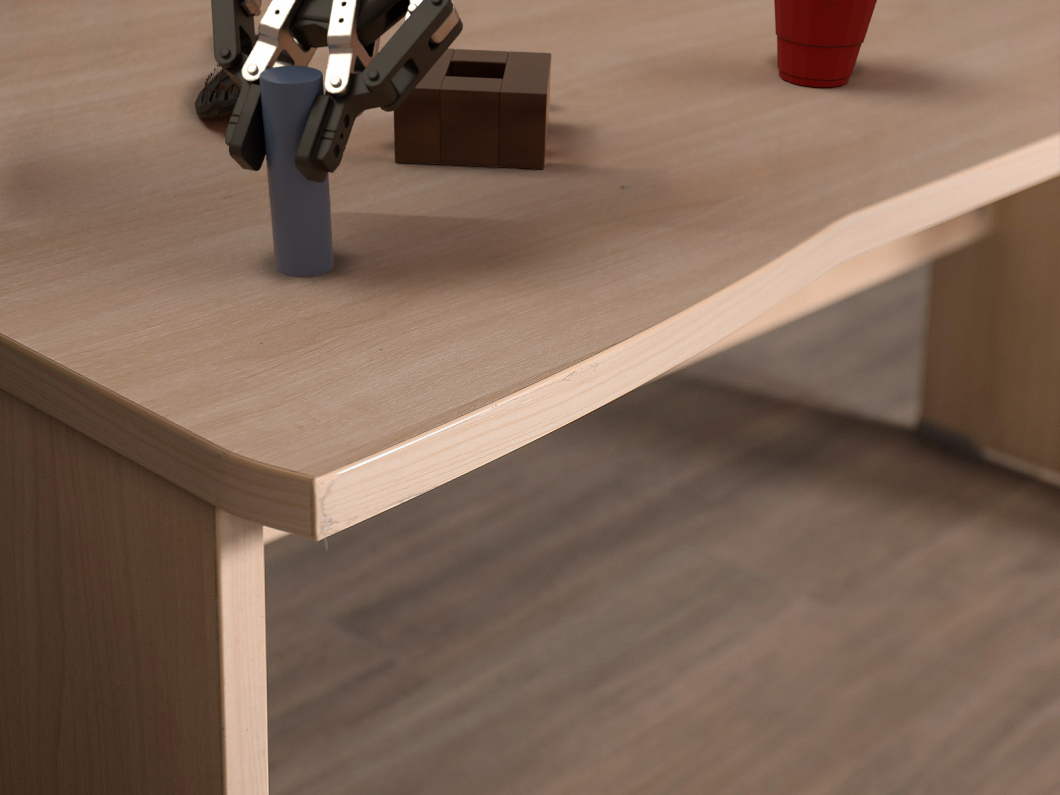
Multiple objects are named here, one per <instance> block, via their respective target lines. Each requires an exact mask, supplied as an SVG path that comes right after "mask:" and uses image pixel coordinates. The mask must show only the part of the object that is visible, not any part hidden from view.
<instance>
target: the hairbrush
mask: <svg viewBox="0 0 1060 795" xmlns="http://www.w3.org/2000/svg"><path fill="white" fill-rule="evenodd" d="M258 37H259V34H255V41H256V42H257V40H258ZM219 68H221V70H219ZM240 91H241V88H239V87H238V86H237V85H236V83H235V82H234V81H233V80H232V79H231V78H230V76H229V75H228V74H227V73H226V72H225V71H224V70H223V68H222V67H221V66H220V65H219V64H218V63H216V68H214V69H213V72H210V74H208V75H207V78H206V79H205V82H204V87H203V88H202V89H201V90H200V91H199V94H198V95H197V97H196V99H195V101H194V106H195V107H194V108H195V114H196V115H197V117H199V118H200V119H202V118H203V119H204V118H205V119H206V118H217V117H218V118H219V117H231V116H232V113H233V110H234V107H235V105H236V102H237V99H238V96H239V94H240Z"/></svg>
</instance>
